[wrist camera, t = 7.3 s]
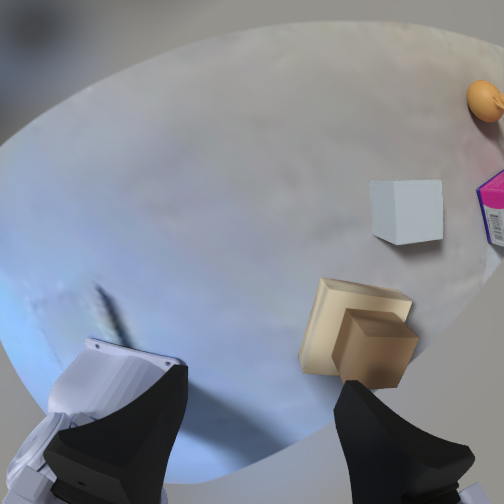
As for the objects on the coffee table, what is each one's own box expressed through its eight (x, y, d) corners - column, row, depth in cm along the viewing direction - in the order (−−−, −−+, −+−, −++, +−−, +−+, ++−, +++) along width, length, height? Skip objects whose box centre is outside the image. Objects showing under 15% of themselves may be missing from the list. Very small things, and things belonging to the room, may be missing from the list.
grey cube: (372, 234, 20) (396, 245, 16) (368, 181, 19) (393, 181, 15) (414, 229, 20) (442, 238, 16) (412, 179, 19) (441, 179, 15)
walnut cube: (330, 356, 19) (345, 389, 15) (345, 308, 18) (366, 336, 14) (376, 357, 19) (396, 387, 15) (393, 312, 18) (419, 337, 14)
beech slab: (297, 352, 22) (302, 373, 20) (319, 275, 21) (329, 289, 18) (369, 358, 23) (380, 377, 20) (395, 288, 21) (412, 301, 18)
